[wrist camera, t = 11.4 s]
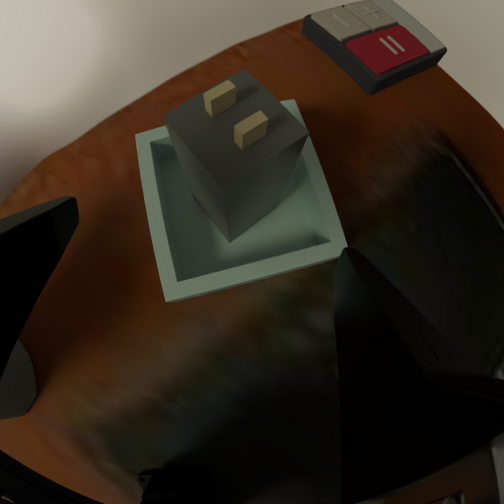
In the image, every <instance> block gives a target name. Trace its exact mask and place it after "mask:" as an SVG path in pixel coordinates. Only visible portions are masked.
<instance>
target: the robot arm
mask: <svg viewBox="0 0 504 504" xmlns="http://www.w3.org/2000/svg"><path fill="white" fill-rule="evenodd" d="M78 223H79V213H78V205H77V200H76V198H75V197H70V196H64V197H60V198H57V199H54V200H52V201H49V202H46V203H43V204H40V205H37V206H34V207H32V208H29V209H26V210H23V211H21V212H18V213H16V214H13V215H10V216H8V217H5V218H3V219H0V381H1V378H2V376H3V373H4V370H5V368H6V365H7V363H8V361H9V357H10V355H11V353H12V351H13V349H14V346H15V344H16V342H17V340H18V337H19V335H20V333H21V331H22V329H23V327H24V325H25V323H26V321H27V319H28V317H29V315H30V313H31V311H32V309H33V307H34V305H35V303H36V301H37V299H38V297H39V296H40V294H41V292H42V290H43V288H44V286H45V285H46V283H47V281H48V279H49V278H50V276H51V274H52V272H53V271H54V269H55V267H56V266H57V264H58V262H59V261H60V259H61V257H62V255H63V253H64V251H65V249H66V247H67V245H68V243H69V241H70V239H71V237H72V235H73V234H74V232H75V230H76V228H77V226H78ZM334 324H335V335H336V346H337V359H338V373H339V390H340V411H341V440H342V442H341V459H342V475H341V504H383V503H384V504H504V380H502V379H496V378H492V377H489V376H487V375H485V374H483V373H481V372H480V371H479V370H478V369H476V368H475V367H474V366H473V365H472V364H471V363H470V362H469V361H468V360H467V359H466V358H465V357H464V356H463V355H462V354H461V353H460V352H459V351H458V350H457V349H456V348H455V347H454V346H453V345H452V344H451V343H450V342H449V341H448V340H447V339H446V338H445V337H444V336H443V335H442V334H441V333H440V332H439V331H438V330H437V329H436V328H435V327H434V326H433V325H432V324H431V323H430V322H429V321H428V320H427V319H426V318H425V316H424V315H421V312H420V311H419V310H418V309H417V308H416V307H415V306H414V305H413V304H412V303H411V302H410V301H409V300H408V299H407V298H406V297H405V296H404V295H403V294H402V293H401V292H400V291H399V290H398V289H397V288H396V287H395V286H394V285H393V284H392V283H391V282H390V281H389V280H388V279H387V278H386V277H385V276H384V275H383V274H382V273H381V272H380V271H379V270H378V269H377V268H376V267H375V266H374V265H373V264H372V263H371V262H370V261H369V260H368V259H367V258H366V257H365V256H364V255H363V254H361V253H360V252H359V251H358V250H357V249H355V248H350V247H345V248H343V250H342V252H341V255H340V257H339V259H338V262H337V264H336V267H335V271H334ZM202 471H204V472H206V473H205V474H203V473H201V472H202ZM141 477H142V478H144V479H145V480H143V479H142V478H141ZM137 480H138V482H139V484H140V486H141V488H142V490H143V494H142V496H141V497H142V501H141V503H140V504H224V502H223V500H222V498H221V495H220V493H219V491H218V489H217V487H216V484H215V482H214V480H213V477H212V475H211V473H210V470H209V469H208V468H206V467H198V468H190V469H172V470H161V471H154V472H151V473H140V474H139V475H138V476H137ZM1 496H3V497H5V498H7V499H9V500H11V501H13V502H14V503H12V502H10V501H8V500H6V499H3V498H1ZM0 504H103V503H101V502H98V501H96V500H93V499H91V498H88V497H86V496H84V495H81V494H79V493H77V492H75V491H72V490H70V489H68V488H66V487H64V486H62V485H60V484H58V483H56V482H54V481H52V480H50V479H48V478H46V477H44V476H42V475H41V474H39V473H37V472H35V471H33V470H32V469H30V468H28V467H27V466H25V465H23V464H22V463H20V462H18V461H17V460H15V459H14V458H12V457H10V456H9V455H7V454H6V453H4V452H3V451H1V450H0Z"/></svg>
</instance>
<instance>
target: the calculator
mask: <svg viewBox="0 0 504 504" xmlns="http://www.w3.org/2000/svg"><path fill="white" fill-rule="evenodd" d="M302 34H303V35H304V36H306V37H307V38H308V39H309V40H310V41H312V42H313V43H314V44H315V45H316V46H318V47H319V48H320V49H321V50H322V51H323V52H324V53H326V54H327V55H328V56H329V57H330V58H331V59H332V60H333V61H334V62H335V63H337V64H338V65H339V66H340V67H341V68H342V69H343V70H344V71H345V72H346V73H347V74H348V75H349V76H350V77H351V78H352V79H353V80H354V81H355V82H356V83H357V84H358V85H359V86H360V87H361V88H362V89H363V90H364V91H365V92H366V93H367V94H369V95H372V94H374V93H377V92H379V91H381V90H383V89H385V88H387V87H389V86H391V85H393V84H395V83H397V82H399V81H401V80H403V79H405V78H407V77H409V76H411V75H413V74H415V73H417V72H420V71H424V70H426V69H428V68H431V67H433V66H435V65H437V63H438V62H439V61H440V60H441V58H442V57H443V55H444V54H445V53H446V52H447V49H446V47H445V46H444V45H443V44H442V43H441V42H440V41H439V40H438V39H437V38H436V37H435V36H434V35H433V34H432V33H431V32H430V31H429V30H428V29H427V28H425V27H424V26H423V25H422V24H420V22H419V21H417V20H416V19H415V18H414V17H413V16H411V15H410V14H409V13H408V12H407V11H405V10H404V9H403V8H402V7H400V6H399V5H398V4H397V3H395V2H394V1H393V0H363V1H359V2H354V3H350V4H346V5H342V6H337V7H334V8H330V9H326V10H322V11H319V12H315V13H312V14H310V15H307V16H305V18H304V23H303V28H302Z"/></svg>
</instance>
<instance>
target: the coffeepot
mask: <svg viewBox="0 0 504 504" xmlns="http://www.w3.org/2000/svg"><path fill="white" fill-rule="evenodd" d="M36 395H37V388H36V378H35V372H34V368H33V365H32V362H31V359H30V355H29V354H28V352H27V350H26V349H25V347H24V346H23V344H22V343H21V341H20V340H19V339H18V340H17V342H16V344H15V346H14V349H13V351H12V353H11V355H10V357H9V361H8V363H7V365H6V368H5V370H4V373H3V376H2V378H1V381H0V420H2V419H8V418H14V417H19V416H25V414H26V412H27V411H28V409H29V408H30V407H31V405H32V404H33V401H34V399H35V397H36Z"/></svg>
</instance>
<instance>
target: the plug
mask: <svg viewBox="0 0 504 504" xmlns="http://www.w3.org/2000/svg"><path fill="white" fill-rule="evenodd" d="M163 119H164V122H165V125H166V127H167V130H168V133H169V135H170V138H171V141H172V143H173V146H174V148H175V151H176V154H177V156H178V159H179V161H180V164H181V167H182V169H183V172H184V174H185V177H186V179H187V182H188V184H189V187H190V189H191V192H192V194H193V197H194V199H195V200H196V201H197V202H198V204H199V205H200V206H201V208H202V209H203V210H204V211H205V213H206V214H207V215H208V217H209V218H210V219H211V220H212V222H213V223H214V224H215V226H216V227H217V228H218V229H219V231H220V232H221V233H222V235H223V236H224V237H225V238H226V240H227V241H228V242H229V243H231V242H232V241H233V240H234V239H236V238H237V237H238V236H240V235H241V234H242V233H244V232H245V231H246V230H248V229H249V228H250V227H252V226H253V225H254V224H256V223H257V222H258V221H260V220H261V219H262V218H264V217H265V216H266V215H268V214H269V213H270V212H272V211H273V210H274V209H276V208H277V206H278V203H279V201H280V199H281V197H282V194H283V192H284V190H285V188H286V185H287V183H288V181H289V179H290V176H291V174H292V172H293V169H294V167H295V165H296V163H297V160H298V158H299V156H300V154H301V151H302V149H303V147H304V144H305V142H306V140H307V138H308V135H309V133H310V132H309V131H308V130H307V129H306V128H305V127H304V126H303V125H302V124H301V123H300V122H299V121H298V120H297V119H296V118H295V117H294V115H293V114H292V113H291V112H290V111H289V110H288V109H287V108H286V107H284V106H283V105H282V104H281V103H280V102H279V101H278V100H277V99H276V98H275V97H274V96H273V95H272V94H271V93H270V92H269V91H268V90H267V89H266V88H265V87H264V86H263V85H261V84H260V83H259V82H258V81H257V80H256V79H255V78H254V77H253V76H252V75H250V74H249V73H248V72H247V71H246V70H243V71H241V72H239V73H237V74H235V75H233V76H231V77H229V78H227V79H225V80H223V81H222V82H220V83H218V84H216V85H214V86H212V87H211V88H209V89H207V90H205V91H204V92H202V93H200V94H198V95H197V96H195V97H193V98H192V99H190V100H188V101H187V102H185V103H183V104H182V105H180V106H179V107H177V108H175V109H174V110H172V111H171V112H169V113H167V114H166V115H164V116H163Z"/></svg>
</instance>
